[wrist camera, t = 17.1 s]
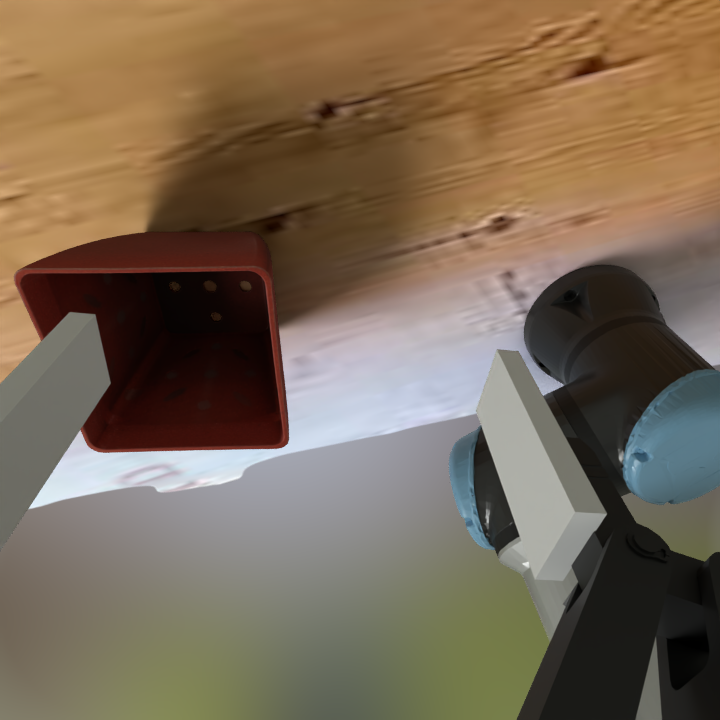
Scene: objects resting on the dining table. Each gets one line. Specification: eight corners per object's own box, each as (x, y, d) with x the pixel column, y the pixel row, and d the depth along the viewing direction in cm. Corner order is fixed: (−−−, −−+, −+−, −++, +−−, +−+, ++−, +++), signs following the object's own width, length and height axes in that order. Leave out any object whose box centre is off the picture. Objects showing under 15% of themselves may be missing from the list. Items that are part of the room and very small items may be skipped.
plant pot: (289, 200, 49) (269, 267, 35) (301, 352, 60) (289, 450, 46) (102, 200, 48) (6, 269, 35) (148, 354, 59) (89, 453, 46)
